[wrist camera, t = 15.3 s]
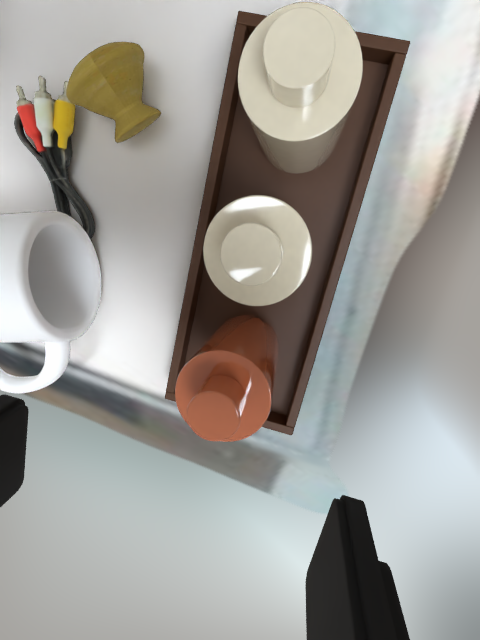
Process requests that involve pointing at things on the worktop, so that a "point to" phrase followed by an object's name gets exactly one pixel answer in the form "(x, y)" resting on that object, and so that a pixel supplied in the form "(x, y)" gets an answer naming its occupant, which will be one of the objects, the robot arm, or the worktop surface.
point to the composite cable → (52, 144)
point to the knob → (113, 87)
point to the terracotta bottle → (230, 380)
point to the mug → (45, 289)
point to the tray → (303, 196)
